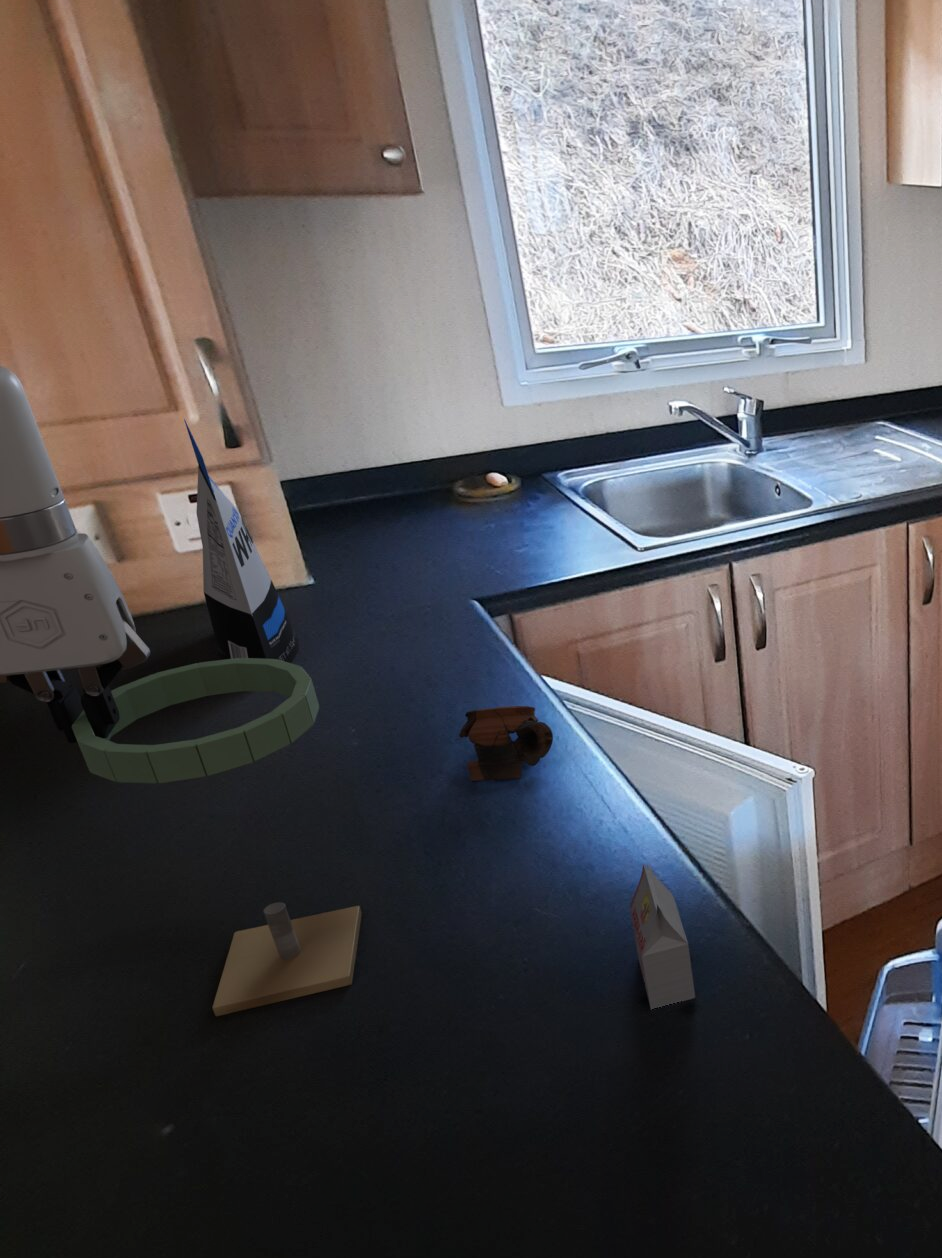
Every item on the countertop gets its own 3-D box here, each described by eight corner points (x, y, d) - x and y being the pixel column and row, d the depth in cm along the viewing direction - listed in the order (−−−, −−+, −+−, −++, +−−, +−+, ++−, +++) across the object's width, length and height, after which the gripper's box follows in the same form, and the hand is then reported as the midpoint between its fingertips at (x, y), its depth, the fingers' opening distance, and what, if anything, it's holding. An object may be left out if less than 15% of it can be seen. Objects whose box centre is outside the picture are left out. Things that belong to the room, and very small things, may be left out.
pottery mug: (443, 785, 118) (438, 712, 118) (505, 779, 127) (500, 711, 127) (530, 777, 114) (524, 702, 115) (587, 771, 123) (582, 701, 123)
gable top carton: (680, 947, 94) (668, 857, 90) (695, 997, 89) (682, 904, 84) (638, 958, 93) (623, 867, 88) (650, 1010, 87) (635, 916, 83)
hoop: (54, 799, 83) (40, 767, 82) (120, 701, 97) (109, 672, 96) (301, 762, 89) (292, 732, 87) (330, 675, 103) (322, 647, 102)
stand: (215, 1017, 86) (192, 961, 83) (237, 940, 94) (217, 887, 92) (352, 984, 90) (334, 930, 87) (362, 913, 98) (346, 861, 95)
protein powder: (231, 690, 136) (154, 464, 123) (210, 627, 153) (141, 423, 140) (313, 671, 141) (249, 452, 128) (284, 612, 158) (225, 414, 145)
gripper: (-141, 555, 76) (-38, 770, 84) (116, 534, 81) (189, 739, 89) (-91, 523, 82) (-1, 727, 90) (144, 505, 87) (209, 700, 96)
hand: (93, 732), depth 90 cm, fingers closed on hoop, 1 cm apart
